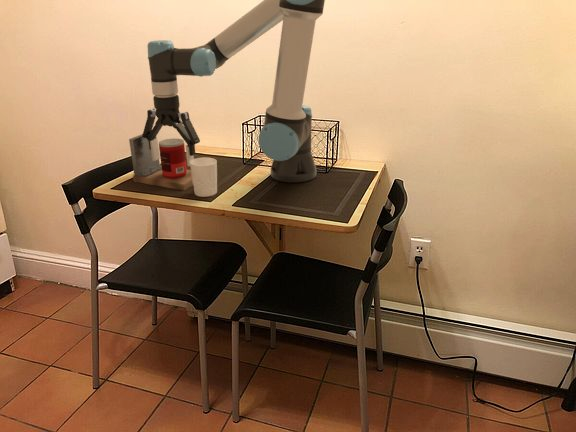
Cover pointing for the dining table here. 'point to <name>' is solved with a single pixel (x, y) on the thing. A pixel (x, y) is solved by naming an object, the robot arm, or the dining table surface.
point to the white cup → (204, 176)
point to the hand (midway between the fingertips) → (173, 162)
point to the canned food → (173, 158)
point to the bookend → (143, 157)
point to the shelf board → (166, 180)
